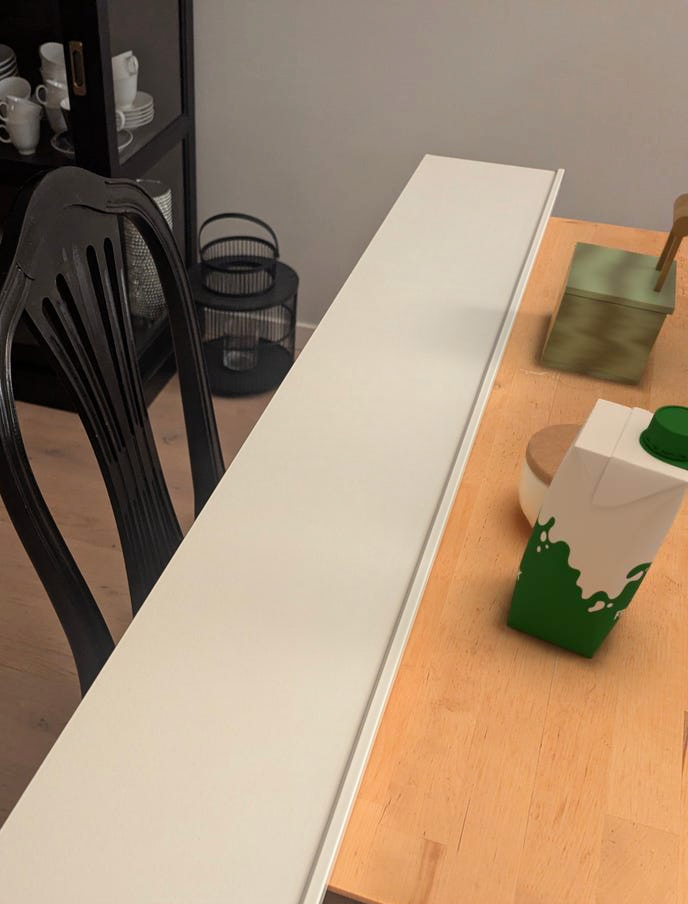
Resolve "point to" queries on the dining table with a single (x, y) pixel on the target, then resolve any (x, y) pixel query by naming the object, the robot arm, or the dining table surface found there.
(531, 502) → the trinket box
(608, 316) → the chest
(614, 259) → the lid
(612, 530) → the soya milk
